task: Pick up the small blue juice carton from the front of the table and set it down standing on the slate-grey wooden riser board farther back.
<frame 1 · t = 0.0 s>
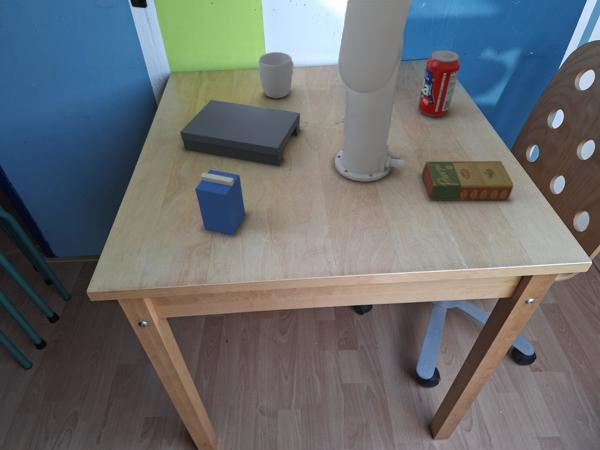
riser board: (243, 140, 104), on the table
soda can: (432, 112, 113), on the table
cup: (363, 84, 125), on the table
juice carton: (225, 221, 83), on the table
mug: (280, 91, 123), on the table
carton: (462, 188, 90), on the table
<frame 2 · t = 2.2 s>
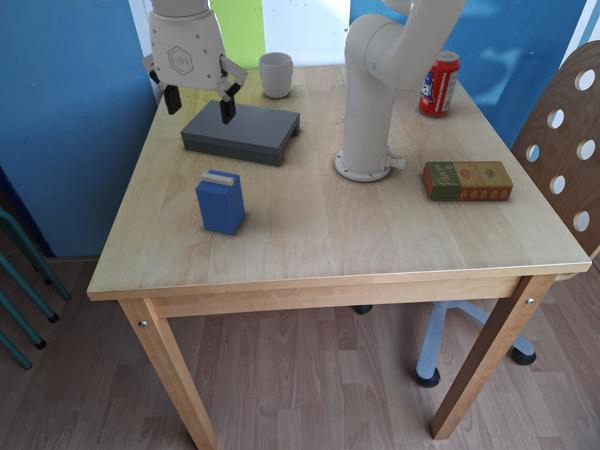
hand: (201, 115, 69), 22 cm above the table, tool pointing down, fingers open, 9 cm apart
nothing on the table moved.
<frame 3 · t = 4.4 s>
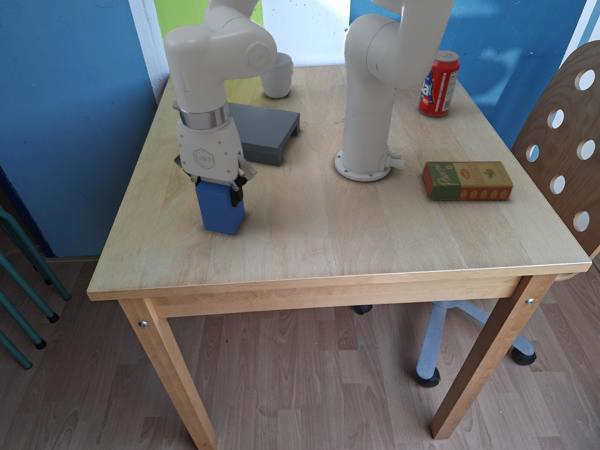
hand: (220, 198, 79), 6 cm above the table, tool pointing down, fingers closed on juice carton, 6 cm apart
juice carton: (225, 221, 83), on the table, touching gripper
everything else where it was.
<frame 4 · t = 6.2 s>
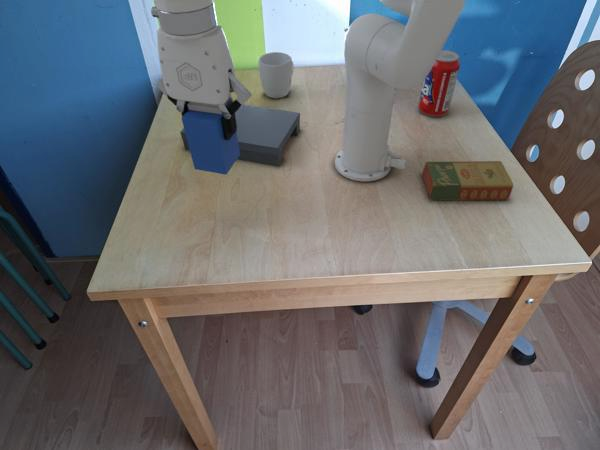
hand: (211, 132, 70), 20 cm above the table, tool pointing down, fingers closed on juice carton, 6 cm apart
juice carton: (217, 161, 74), point 14 cm above the table, touching gripper
everything else where it was.
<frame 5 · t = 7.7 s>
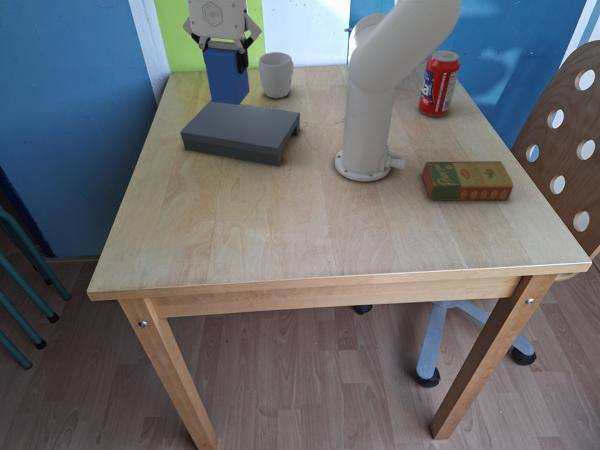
hand: (227, 68, 84), 22 cm above the table, tool pointing down, fingers closed on juice carton, 6 cm apart
juice carton: (231, 96, 88), point 16 cm above the table, touching gripper
everything else where it was.
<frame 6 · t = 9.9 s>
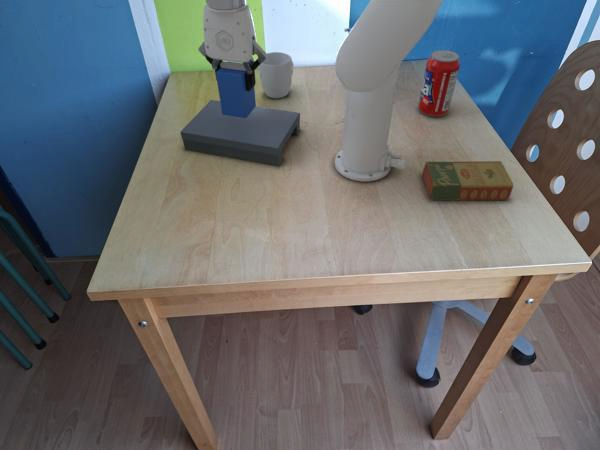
hand: (236, 85, 94), 14 cm above the table, tool pointing down, fingers closed on juice carton, 6 cm apart
juice carton: (239, 110, 99), point 8 cm above the table, touching gripper
everything else where it was.
when the fingers open (11 cm above the table, at t = 11.2 s): juice carton stays where it is, resting on riser board.
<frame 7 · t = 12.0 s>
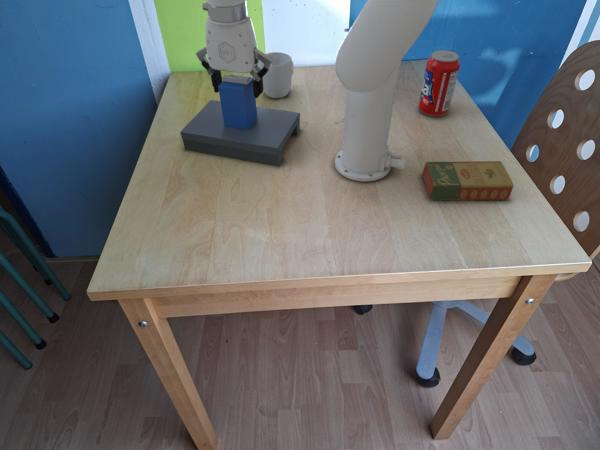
hand: (238, 92, 95), 12 cm above the table, tool pointing down, fingers open, 9 cm apart
juice carton: (241, 121, 101), point 5 cm above the table, touching riser board
everything else where it was.
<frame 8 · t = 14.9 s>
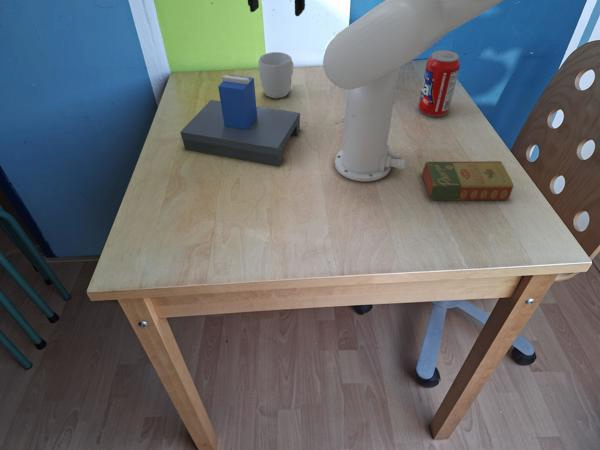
hand: (276, 12, 87), 28 cm above the table, tool pointing down, fingers open, 9 cm apart
nothing on the table moved.
at the end: juice carton inside the target area on the riser board (0.1 cm from its centre), point 5.0 cm above the riser board's base; juice carton tilted 0°; the gripper is holding nothing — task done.
